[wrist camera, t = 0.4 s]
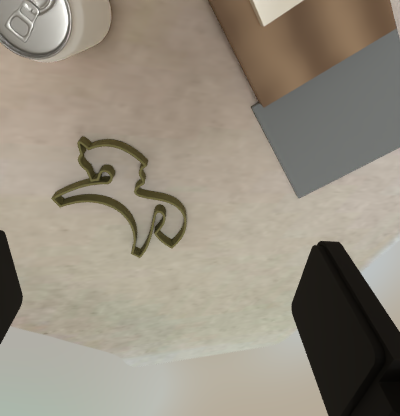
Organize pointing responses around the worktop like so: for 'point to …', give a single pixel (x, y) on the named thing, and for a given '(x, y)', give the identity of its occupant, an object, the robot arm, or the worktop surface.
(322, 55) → the brown wooden flat block
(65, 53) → the can
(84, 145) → the cookie cutter
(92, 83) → the worktop surface
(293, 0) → the tile
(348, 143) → the mat
